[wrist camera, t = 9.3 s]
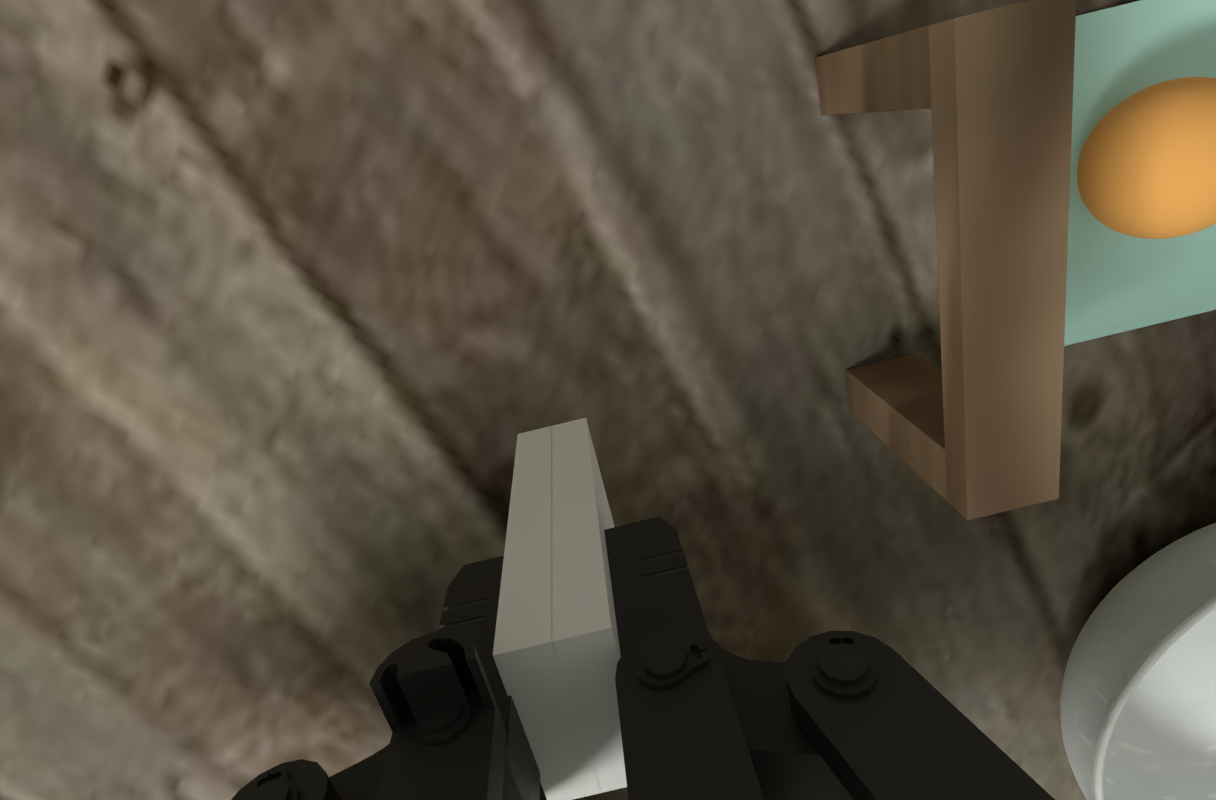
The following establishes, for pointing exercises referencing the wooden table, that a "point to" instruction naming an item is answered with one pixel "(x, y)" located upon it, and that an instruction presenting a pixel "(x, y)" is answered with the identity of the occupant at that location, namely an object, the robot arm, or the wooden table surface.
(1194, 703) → the serving bowl
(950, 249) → the bridge
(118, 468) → the wooden table surface
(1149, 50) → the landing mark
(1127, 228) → the ball
